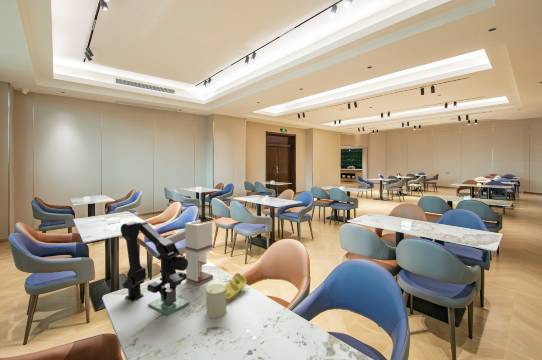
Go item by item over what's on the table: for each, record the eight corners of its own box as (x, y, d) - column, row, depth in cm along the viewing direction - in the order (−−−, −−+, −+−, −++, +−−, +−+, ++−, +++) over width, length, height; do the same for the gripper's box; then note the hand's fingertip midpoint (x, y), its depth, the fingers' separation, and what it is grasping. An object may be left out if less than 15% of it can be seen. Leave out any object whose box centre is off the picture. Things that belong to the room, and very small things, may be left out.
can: (202, 312, 123) (202, 287, 123) (218, 304, 130) (218, 281, 130) (214, 320, 117) (213, 294, 116) (230, 312, 124) (230, 287, 123)
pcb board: (148, 305, 130) (147, 297, 130) (169, 295, 140) (168, 288, 140) (168, 315, 121) (167, 307, 121) (189, 303, 131) (188, 296, 131)
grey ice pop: (156, 298, 133) (155, 287, 132) (163, 295, 136) (162, 284, 136) (169, 304, 127) (168, 292, 127) (176, 301, 130) (175, 289, 130)
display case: (198, 285, 151) (197, 225, 149) (186, 281, 157) (184, 223, 155) (212, 278, 161) (211, 221, 159) (200, 274, 167) (199, 219, 165)
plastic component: (228, 299, 131) (213, 287, 134) (223, 310, 133) (209, 298, 137) (249, 281, 148) (236, 270, 152) (245, 291, 150) (232, 280, 154)
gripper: (160, 278, 117) (161, 312, 118) (193, 264, 133) (194, 294, 134) (146, 272, 124) (147, 305, 124) (179, 260, 139) (180, 289, 140)
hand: (168, 298), depth 131 cm, fingers closed on grey ice pop, 4 cm apart
